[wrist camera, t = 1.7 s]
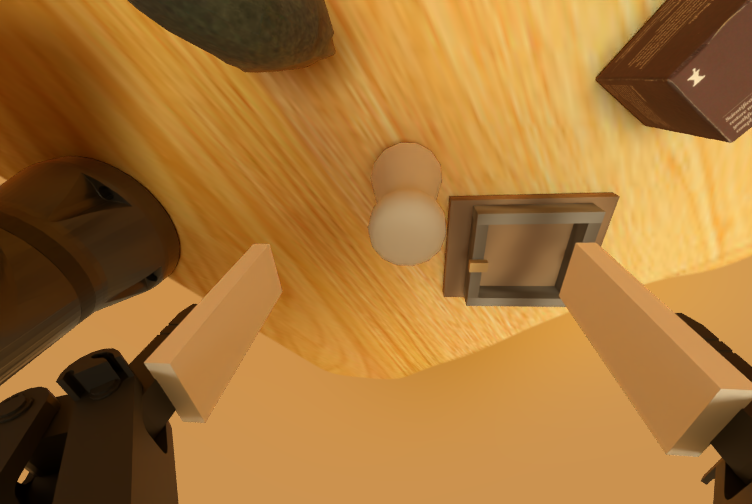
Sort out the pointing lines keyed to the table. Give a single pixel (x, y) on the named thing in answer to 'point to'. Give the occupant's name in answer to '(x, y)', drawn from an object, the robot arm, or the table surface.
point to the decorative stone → (249, 30)
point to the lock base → (519, 245)
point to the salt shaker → (407, 205)
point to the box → (689, 69)
